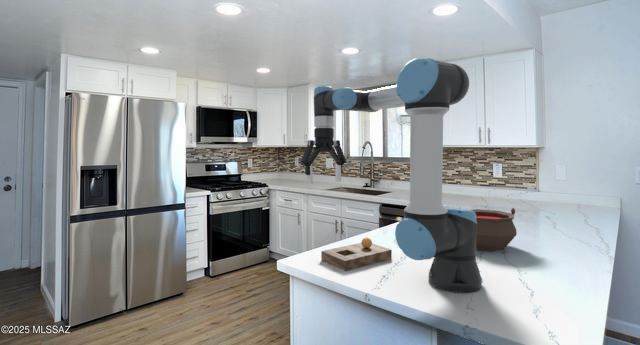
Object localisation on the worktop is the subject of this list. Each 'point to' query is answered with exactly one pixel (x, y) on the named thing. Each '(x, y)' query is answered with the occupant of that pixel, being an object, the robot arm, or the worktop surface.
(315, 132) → the robot arm
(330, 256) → the wooden block with hole
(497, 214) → the brown pot
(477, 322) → the worktop surface
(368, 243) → the ball
